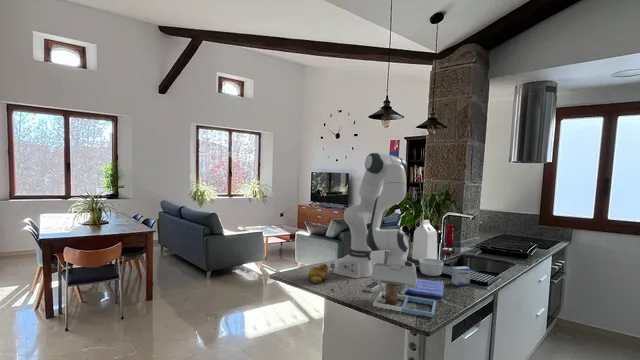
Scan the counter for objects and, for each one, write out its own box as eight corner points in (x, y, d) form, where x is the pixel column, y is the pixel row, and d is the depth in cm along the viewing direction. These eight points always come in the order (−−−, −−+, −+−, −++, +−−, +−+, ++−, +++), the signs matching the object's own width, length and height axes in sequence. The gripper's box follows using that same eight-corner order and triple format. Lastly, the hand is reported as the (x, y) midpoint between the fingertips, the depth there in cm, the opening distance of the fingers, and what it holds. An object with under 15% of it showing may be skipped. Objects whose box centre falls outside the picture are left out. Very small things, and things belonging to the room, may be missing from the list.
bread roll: (322, 285, 170) (322, 270, 170) (303, 283, 173) (304, 268, 172) (328, 278, 182) (329, 263, 182) (311, 276, 185) (311, 261, 185)
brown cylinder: (384, 304, 147) (384, 286, 147) (386, 300, 152) (387, 283, 152) (395, 307, 145) (396, 288, 145) (398, 302, 150) (398, 285, 150)
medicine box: (456, 285, 174) (457, 269, 173) (451, 282, 178) (451, 266, 178) (469, 284, 176) (470, 268, 176) (464, 281, 180) (464, 265, 180)
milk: (422, 255, 233) (423, 218, 232) (437, 259, 224) (438, 220, 223) (411, 258, 225) (412, 219, 224) (427, 262, 217) (428, 222, 216)
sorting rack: (372, 307, 144) (373, 302, 144) (380, 295, 158) (381, 291, 158) (432, 318, 135) (432, 313, 135) (435, 305, 148) (436, 300, 148)
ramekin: (446, 277, 188) (446, 264, 187) (422, 276, 188) (423, 264, 188) (438, 270, 201) (438, 258, 201) (416, 269, 201) (416, 257, 201)
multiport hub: (364, 291, 164) (364, 286, 164) (378, 283, 176) (378, 279, 176) (372, 293, 162) (372, 288, 161) (386, 285, 173) (386, 281, 173)
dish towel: (404, 295, 161) (404, 289, 161) (410, 280, 183) (410, 274, 183) (442, 300, 155) (442, 294, 154) (444, 284, 177) (444, 279, 176)
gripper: (373, 258, 158) (367, 285, 150) (418, 264, 150) (414, 293, 142) (375, 265, 163) (369, 292, 154) (419, 271, 154) (415, 300, 146)
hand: (391, 293), depth 148 cm, fingers open, 8 cm apart
